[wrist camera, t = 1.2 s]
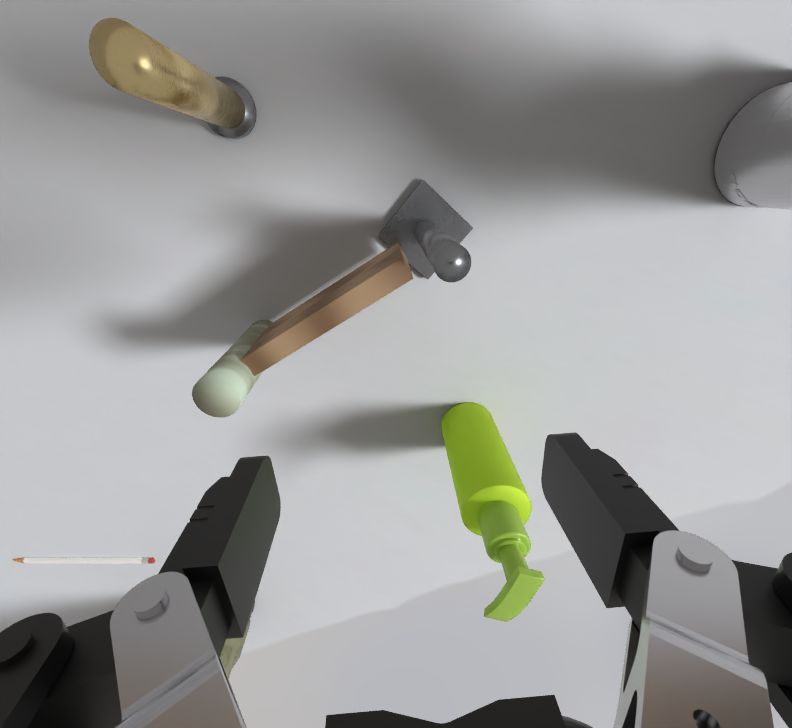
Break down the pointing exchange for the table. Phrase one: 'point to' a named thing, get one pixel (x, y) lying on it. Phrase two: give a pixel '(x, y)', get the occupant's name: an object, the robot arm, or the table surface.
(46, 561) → the pencil
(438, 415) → the table surface
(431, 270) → the hinge post
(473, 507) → the soap dispenser
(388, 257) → the gate
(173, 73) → the post
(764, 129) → the robot arm
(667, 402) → the table surface
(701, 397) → the table surface
